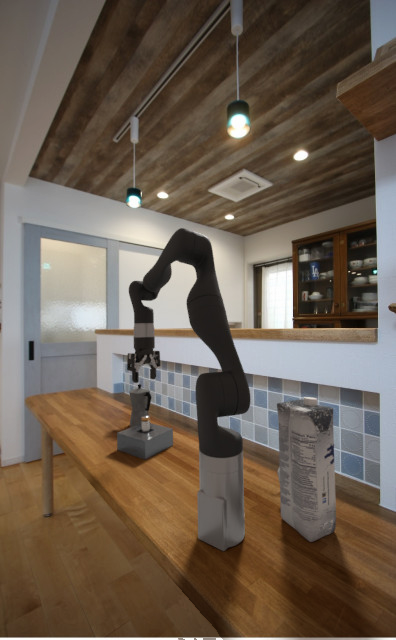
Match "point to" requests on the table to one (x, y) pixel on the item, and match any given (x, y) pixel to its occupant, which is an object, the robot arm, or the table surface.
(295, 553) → the table surface
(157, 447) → the bore block
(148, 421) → the cylinder
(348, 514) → the table surface
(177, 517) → the table surface
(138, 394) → the coffeepot
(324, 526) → the juice carton
